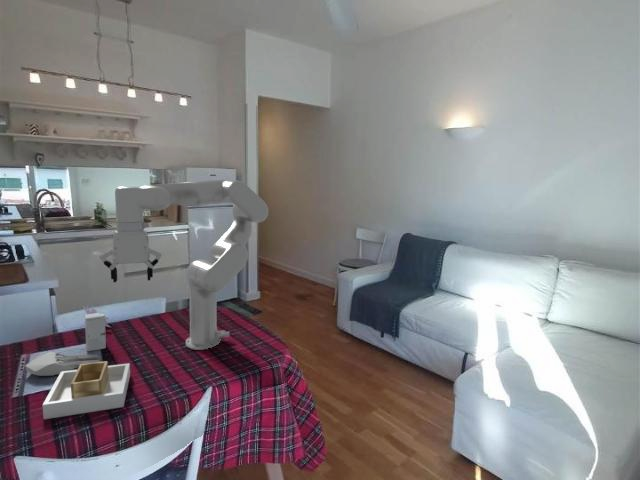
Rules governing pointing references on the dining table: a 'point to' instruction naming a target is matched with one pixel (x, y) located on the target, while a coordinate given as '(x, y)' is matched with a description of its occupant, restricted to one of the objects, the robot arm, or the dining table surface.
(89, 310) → the water lily
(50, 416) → the white tray
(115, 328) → the dining table surface
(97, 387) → the pine crate
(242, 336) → the dining table surface
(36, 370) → the turret
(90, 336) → the skincare box
